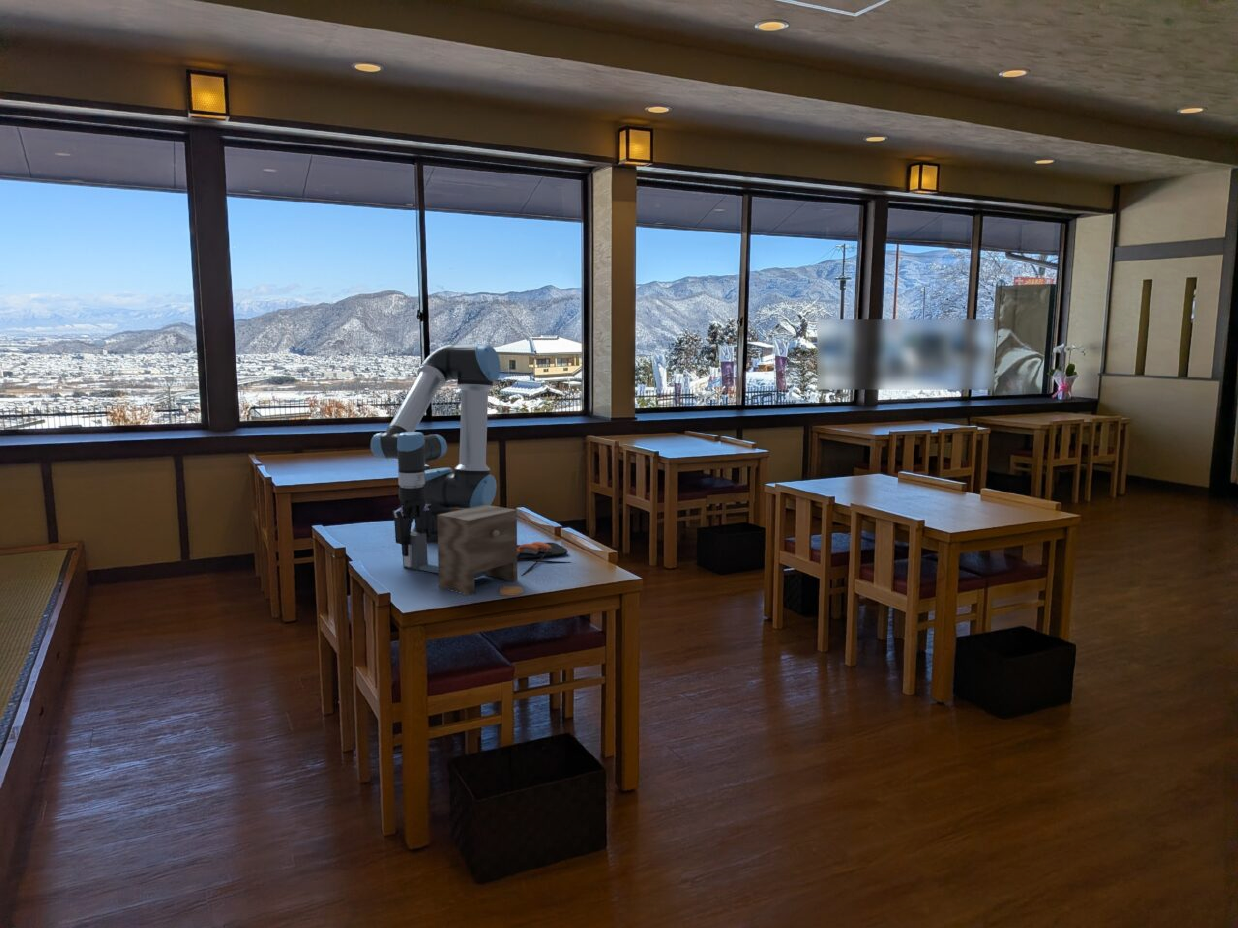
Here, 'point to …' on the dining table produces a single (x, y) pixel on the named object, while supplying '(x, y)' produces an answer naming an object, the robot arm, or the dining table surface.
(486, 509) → the cabinet
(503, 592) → the puck
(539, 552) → the sushi plate
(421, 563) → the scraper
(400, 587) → the dining table surface
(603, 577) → the dining table surface
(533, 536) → the dining table surface
